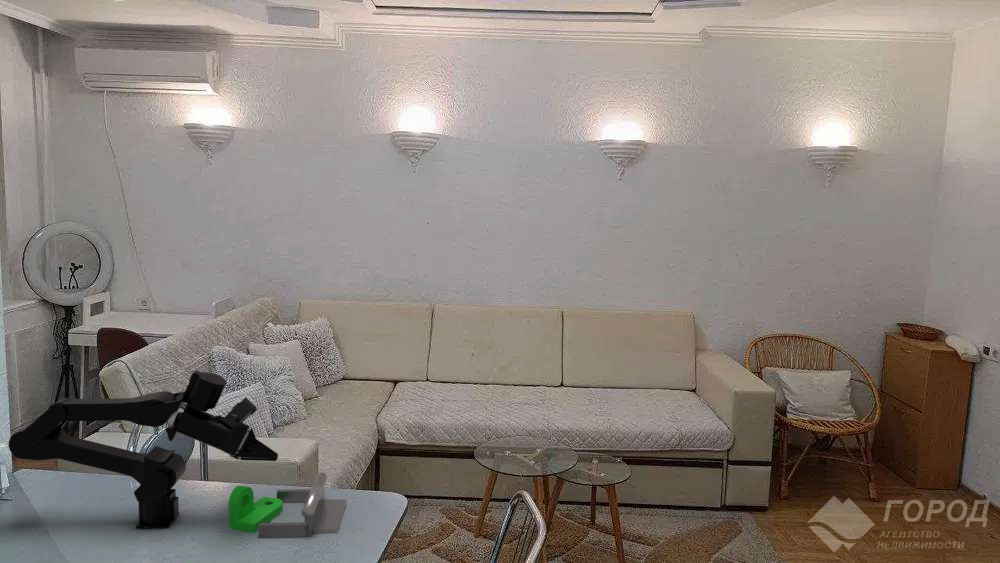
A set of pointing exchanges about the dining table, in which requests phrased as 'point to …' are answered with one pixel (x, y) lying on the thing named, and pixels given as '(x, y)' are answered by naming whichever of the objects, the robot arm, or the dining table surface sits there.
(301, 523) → the bracket
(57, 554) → the dining table surface
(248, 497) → the mechanical part
